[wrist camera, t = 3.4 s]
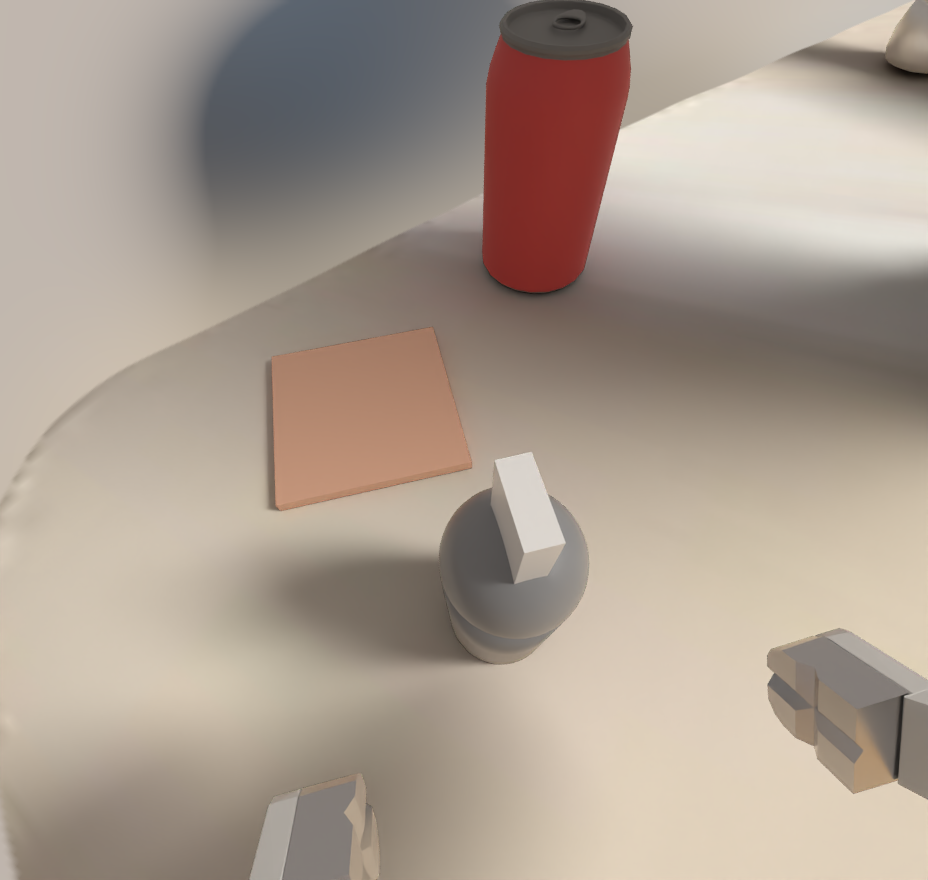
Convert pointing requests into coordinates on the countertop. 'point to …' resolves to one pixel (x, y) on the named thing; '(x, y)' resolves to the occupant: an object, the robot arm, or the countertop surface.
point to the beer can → (550, 137)
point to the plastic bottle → (910, 40)
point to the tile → (363, 418)
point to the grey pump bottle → (511, 564)
